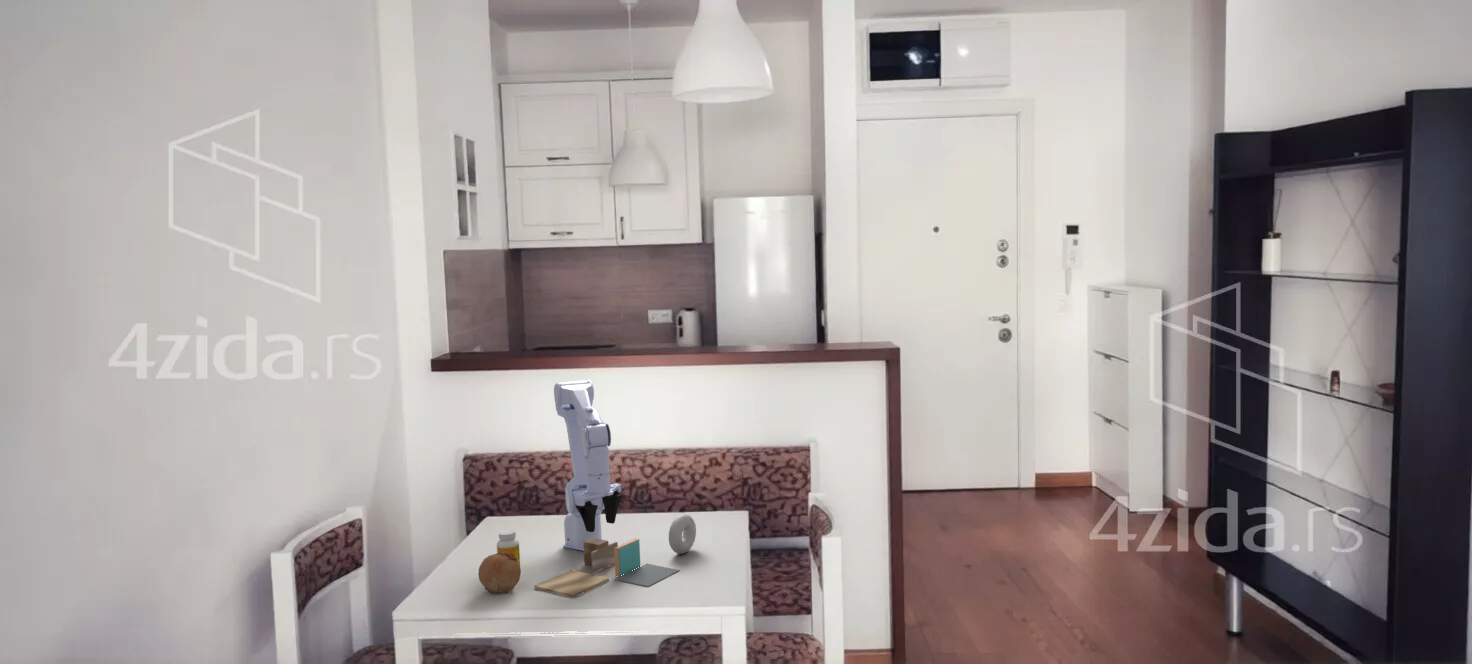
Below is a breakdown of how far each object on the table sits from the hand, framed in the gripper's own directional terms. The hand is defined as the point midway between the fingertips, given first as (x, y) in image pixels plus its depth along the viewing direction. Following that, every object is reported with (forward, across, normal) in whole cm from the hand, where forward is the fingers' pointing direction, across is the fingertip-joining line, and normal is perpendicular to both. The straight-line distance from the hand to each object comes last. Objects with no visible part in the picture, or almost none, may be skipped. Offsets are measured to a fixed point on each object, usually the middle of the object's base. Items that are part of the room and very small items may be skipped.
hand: (600, 527), depth 227 cm
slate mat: (+9, -1, -15) cm, 18 cm away
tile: (+10, -1, -9) cm, 13 cm away
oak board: (+9, -14, -3) cm, 17 cm away
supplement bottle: (+10, -14, +18) cm, 25 cm away
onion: (+10, -25, +9) cm, 28 cm away
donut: (+10, +16, -13) cm, 23 cm away
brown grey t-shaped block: (+10, -1, +1) cm, 10 cm away
